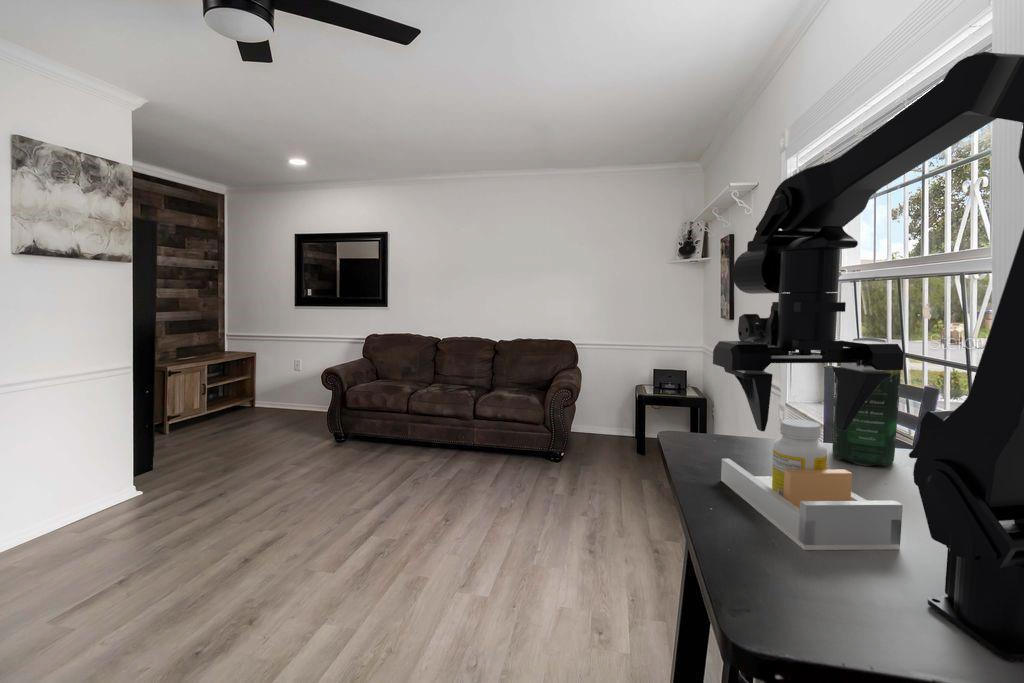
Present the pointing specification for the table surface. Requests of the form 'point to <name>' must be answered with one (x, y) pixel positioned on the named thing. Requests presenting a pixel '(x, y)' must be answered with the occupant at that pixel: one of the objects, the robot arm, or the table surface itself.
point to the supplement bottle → (797, 450)
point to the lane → (820, 515)
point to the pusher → (817, 485)
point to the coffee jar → (871, 424)
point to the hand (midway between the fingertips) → (801, 430)
